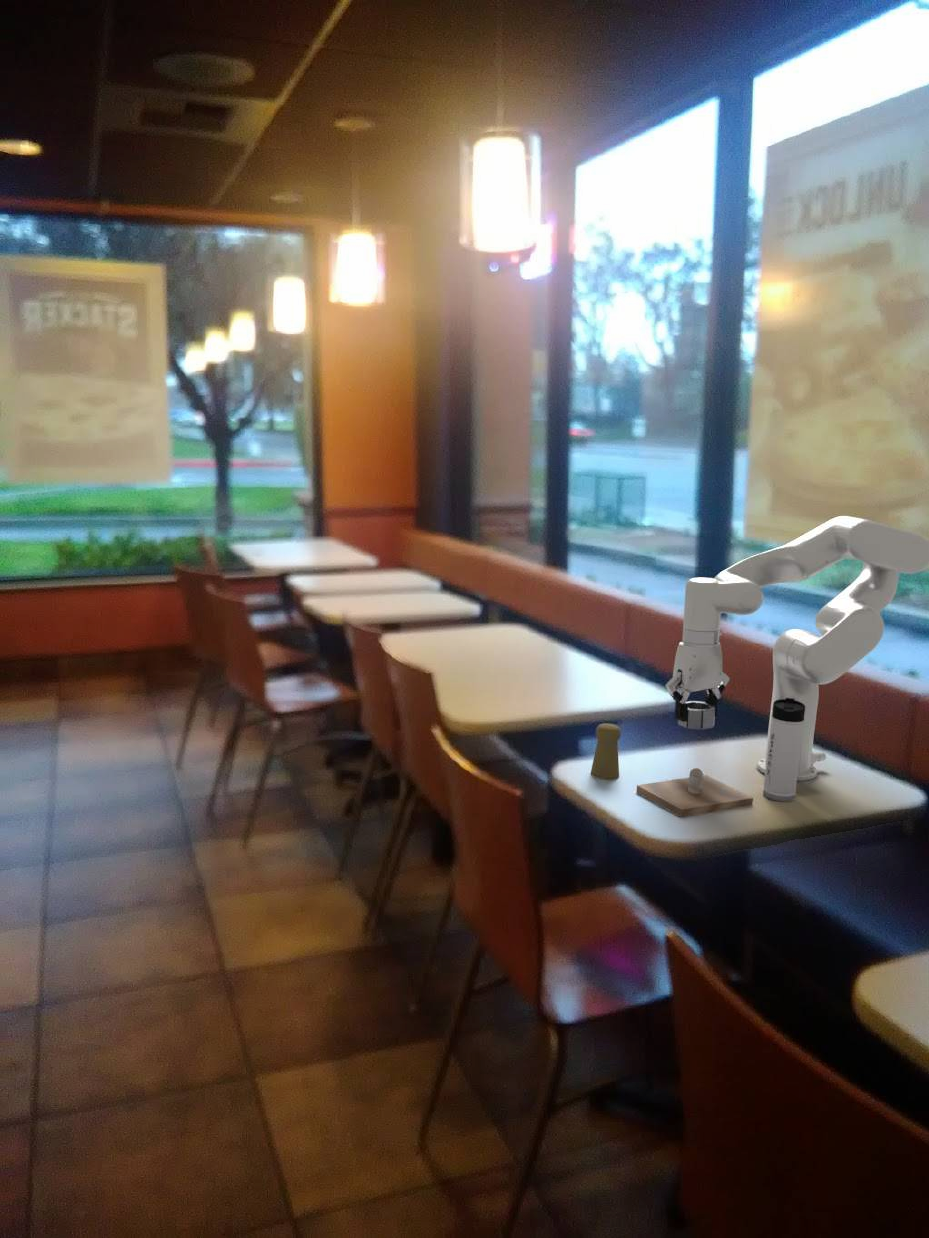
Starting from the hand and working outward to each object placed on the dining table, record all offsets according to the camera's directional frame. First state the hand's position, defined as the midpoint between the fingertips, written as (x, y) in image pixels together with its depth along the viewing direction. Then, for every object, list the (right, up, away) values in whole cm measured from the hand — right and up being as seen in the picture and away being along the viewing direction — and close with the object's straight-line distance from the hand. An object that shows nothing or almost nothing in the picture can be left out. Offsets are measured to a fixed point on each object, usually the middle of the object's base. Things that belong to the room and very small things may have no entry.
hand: (695, 717), depth 218 cm
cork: (-20, -12, -2) cm, 23 cm away
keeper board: (-3, -15, -13) cm, 20 cm away
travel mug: (+15, -15, -9) cm, 23 cm away
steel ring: (0, -1, 0) cm, 1 cm away
